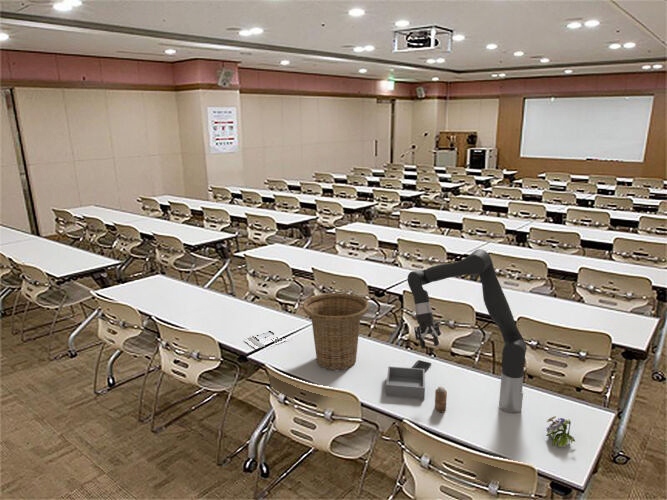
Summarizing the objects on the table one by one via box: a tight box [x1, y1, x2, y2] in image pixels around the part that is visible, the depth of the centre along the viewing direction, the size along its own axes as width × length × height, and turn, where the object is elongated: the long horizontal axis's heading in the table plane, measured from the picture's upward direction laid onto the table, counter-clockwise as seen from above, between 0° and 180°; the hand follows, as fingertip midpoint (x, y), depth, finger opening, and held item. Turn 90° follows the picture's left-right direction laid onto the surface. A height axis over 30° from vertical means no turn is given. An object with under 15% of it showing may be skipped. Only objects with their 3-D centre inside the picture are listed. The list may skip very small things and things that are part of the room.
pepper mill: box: [434, 386, 448, 413], centre depth 219 cm, size 5×5×10 cm
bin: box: [385, 365, 426, 400], centre depth 237 cm, size 18×18×6 cm
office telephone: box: [246, 336, 286, 348], centre depth 292 cm, size 23×3×20 cm
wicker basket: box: [302, 292, 370, 371], centre depth 261 cm, size 35×35×33 cm
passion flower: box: [545, 416, 576, 448], centre depth 197 cm, size 11×11×12 cm
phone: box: [411, 360, 432, 373], centre depth 256 cm, size 8×1×15 cm
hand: (430, 347), depth 227 cm, fingers open, 8 cm apart
